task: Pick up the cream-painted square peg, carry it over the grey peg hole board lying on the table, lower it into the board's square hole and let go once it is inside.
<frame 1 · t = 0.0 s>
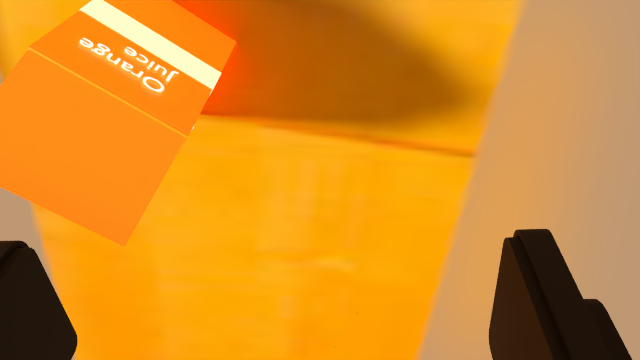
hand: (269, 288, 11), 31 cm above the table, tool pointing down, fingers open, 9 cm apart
orange juice: (165, 48, 41), on the table
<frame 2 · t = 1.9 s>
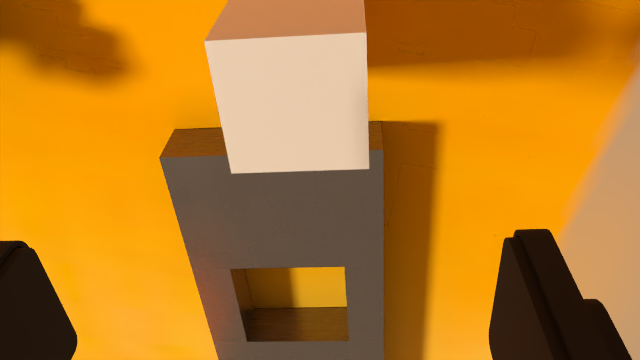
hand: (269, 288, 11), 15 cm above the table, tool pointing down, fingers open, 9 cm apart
grey peg hole board: (296, 273, 31), on the table
square peg: (308, 19, 22), on the table
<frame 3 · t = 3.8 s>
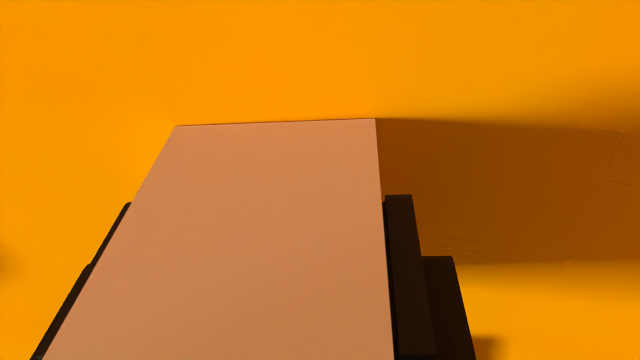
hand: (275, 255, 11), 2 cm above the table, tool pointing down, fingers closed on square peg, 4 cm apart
square peg: (284, 203, 13), on the table, touching gripper
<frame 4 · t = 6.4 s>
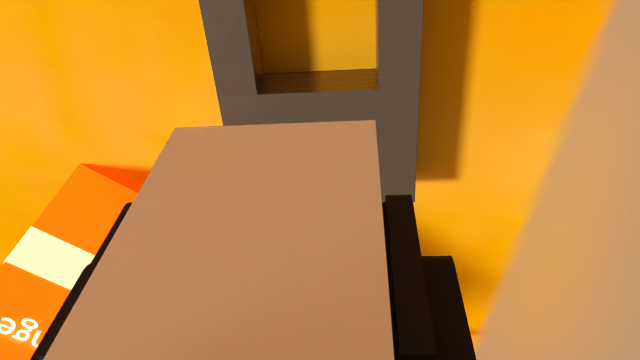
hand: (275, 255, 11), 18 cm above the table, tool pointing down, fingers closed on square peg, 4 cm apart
grey peg hole board: (315, 15, 26), on the table
square peg: (284, 204, 13), point 16 cm above the table, touching gripper
orange juice: (124, 231, 36), on the table
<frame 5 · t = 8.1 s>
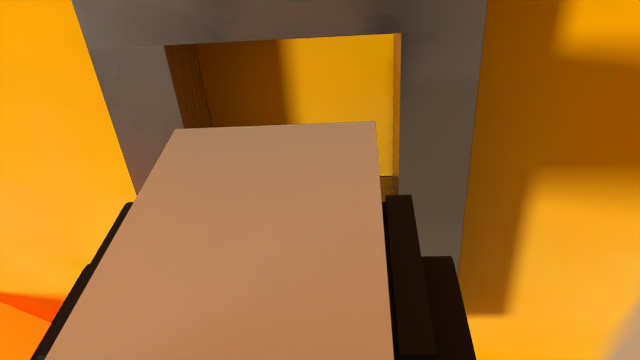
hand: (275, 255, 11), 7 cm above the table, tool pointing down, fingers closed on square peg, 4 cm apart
grey peg hole board: (299, 102, 17), on the table
square peg: (284, 205, 13), point 5 cm above the table, touching gripper
when the fingers open (3 cm above the table, at t = 9.5 s): square peg drops 1 cm, resting in grey peg hole board.
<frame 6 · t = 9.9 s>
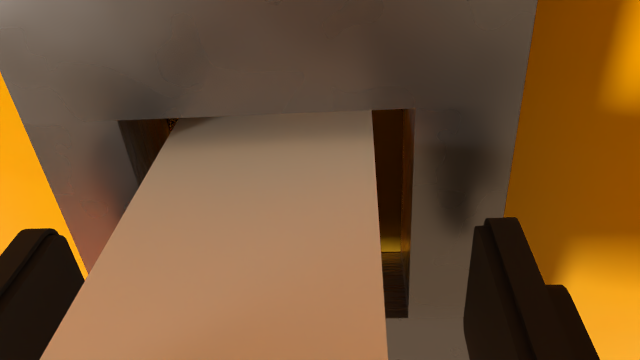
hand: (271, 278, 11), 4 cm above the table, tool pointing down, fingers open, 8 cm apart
grey peg hole board: (290, 171, 14), on the table
square peg: (289, 170, 14), resting in grey peg hole board
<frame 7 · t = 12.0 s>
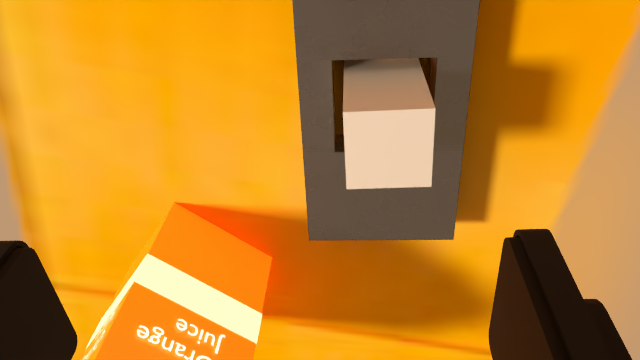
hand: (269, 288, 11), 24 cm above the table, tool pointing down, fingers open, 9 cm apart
grey peg hole board: (381, 91, 34), on the table
square peg: (380, 91, 34), resting in grey peg hole board
orange juice: (201, 259, 42), on the table
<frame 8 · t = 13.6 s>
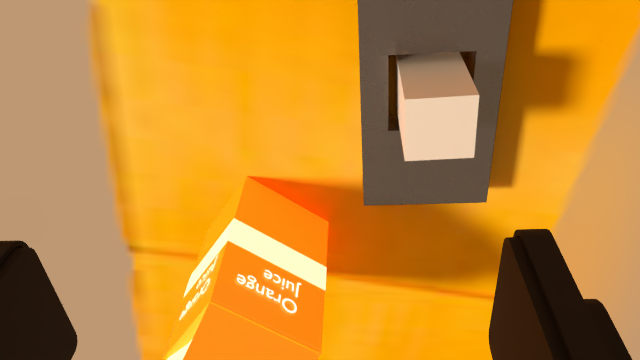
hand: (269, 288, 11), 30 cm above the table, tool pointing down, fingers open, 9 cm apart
grey peg hole board: (426, 78, 40), on the table
square peg: (425, 78, 40), resting in grey peg hole board
orange juice: (267, 224, 49), on the table
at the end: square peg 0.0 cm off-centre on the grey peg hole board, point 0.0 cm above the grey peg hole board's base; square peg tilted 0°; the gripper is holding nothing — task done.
